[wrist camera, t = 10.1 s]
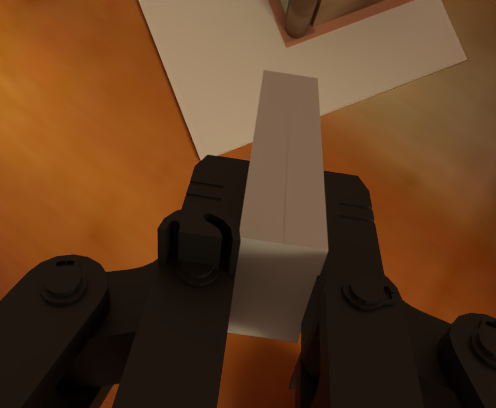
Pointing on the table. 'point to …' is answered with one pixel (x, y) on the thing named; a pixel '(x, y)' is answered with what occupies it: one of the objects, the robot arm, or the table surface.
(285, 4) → the fence gate
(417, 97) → the table surface
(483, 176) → the table surface
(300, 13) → the fence fixed
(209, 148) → the card
